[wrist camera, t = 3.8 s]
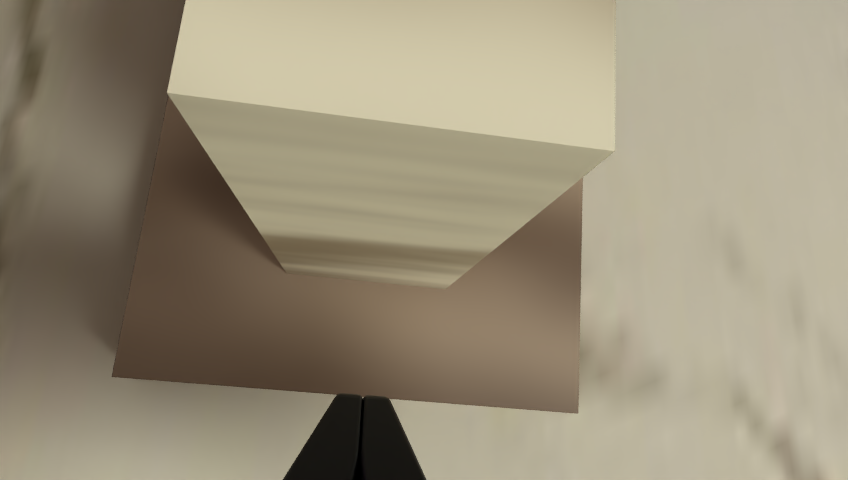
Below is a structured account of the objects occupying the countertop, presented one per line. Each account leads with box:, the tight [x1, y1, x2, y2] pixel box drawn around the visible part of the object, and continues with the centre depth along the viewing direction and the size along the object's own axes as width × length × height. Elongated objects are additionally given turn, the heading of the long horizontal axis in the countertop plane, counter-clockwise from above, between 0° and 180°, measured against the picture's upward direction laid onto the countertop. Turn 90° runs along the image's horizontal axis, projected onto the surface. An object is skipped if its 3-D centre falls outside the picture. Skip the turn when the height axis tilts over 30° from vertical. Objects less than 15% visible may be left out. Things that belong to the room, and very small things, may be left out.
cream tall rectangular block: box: [167, 0, 616, 289], centre depth 13 cm, size 5×5×12 cm
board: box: [112, 95, 583, 413], centre depth 19 cm, size 24×14×6 cm, turn 175°
